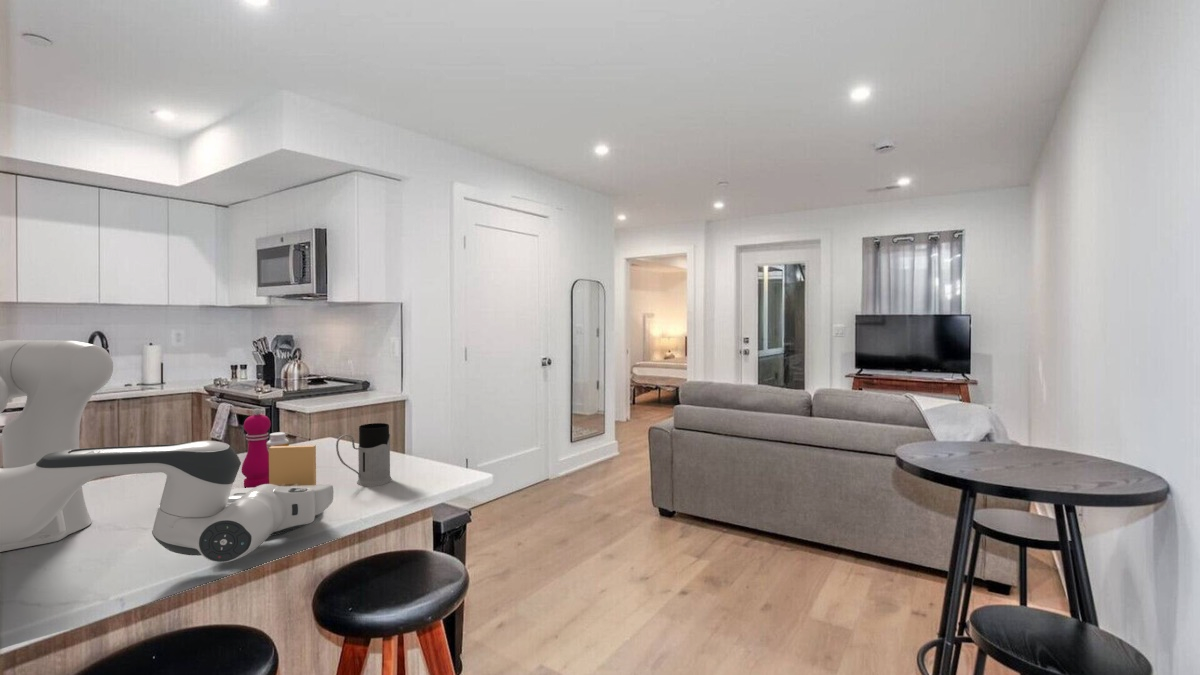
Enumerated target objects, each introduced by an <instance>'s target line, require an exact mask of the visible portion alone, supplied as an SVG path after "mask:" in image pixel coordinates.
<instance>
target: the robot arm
mask: <svg viewBox="0 0 1200 675" xmlns="http://www.w3.org/2000/svg"><path fill="white" fill-rule="evenodd" d="M113 371H114V362H113V359H112V356H111V354H110V353H109V352H108V351H107V350H106V348H104V347H102V346H99V345H97V344H92V343H89V342H83V341H78V340H57V339H56V340H50V339H48V340H45V339H39V340H38V339H36V340H35V339H34V340H33V339H30V340H29V339H25V340H23V339H6V340H0V414H1V413H3V412H4V411H5V409H6V407H7V406H8V401H9V400H12V399H15V398H21V397H26V400H25V403H24V407H23V409H22V411H21V413H20V414H19V415H18V416H16V417H14V418H12V419H11V420H9V421H8V422H6V424H5V425H4V427H3V428H2V431H1V438H2V439H1V440H2V442H1V443H2V446H1V447H2V466H1V467H0V553H2V552H6V551H11V550H17V549H18V550H19V549H23V548H28V547H29V548H30V547H32V546H39V545H44V544H49V543H55V542H58V541H61V540H62V539H65V538H66V537H67V536H69V535H71V534H73V533H77V532H79V531H81V530H82V529H84V528H87V527H88V526H90V525H91V524H92V522H93V520H92V518H91V516H90V514H89V511H88V508H87V504H86V501H85V496H84V492H83V486H85V484H87V483H88V482H90V481H92V480H95V479H98V478H101V477H106V476H107V477H109V476H121V475H137V474H139V475H141V474H156V473H157V474H158V473H163V474H165V475H166V479H165V484H164V487H163V492H162V494H161V498H160V502H159V505H158V508H157V510H156V514H155V519H154V522H153V526H152V527H153V528H152V530H151V533H152V534H151V535H152V537H153V538H154V540H156V542H158V544H159V545H160V546H162V547H163V548H164V549H167V550H168V551H170V552H172V553H176V554H179V555H183V556H184V555H185V556H202V557H204V559H206V560H208V561H211V562H215V563H228V562H232V561H235V560H238V559H241V558H243V557H245V556H247V555H248V554H250V553H252V552H253V551H255V550H256V549H257V548H258V547H260V546H261V545H262V544H263V543H265V541H266V540H267V539H268V538H269V537H270V536H269V535H270V534H272V533H273V532H276V531H280V530H282V529H285V528H289V527H293V526H298V525H304V524H306V525H308V524H312V523H313V522H314V521H315V519H314V518H315V515H318V514H319V515H320V514H322V513H324V512H325V511H326V510H327V509H328V508H329V507H330V505H332V503H333V500H334V486H333V485H332V484H329V483H328V484H326V483H325V484H316V485H302V486H298V484H283V485H281V486H277V485H273V484H263V485H259V486H257V487H253V488H245V487H234V488H233V484H234V482H235V481H236V478H237V475H238V473H239V469H240V467H241V466H242V465H241V464H242V462H241V459H240V457H239V455H238V453H236V451H235V450H234V448H233V447H232V446H231V445H230V444H229V443H226V442H223V441H216V440H199V441H188V442H180V443H171V444H170V443H168V444H151V445H150V444H147V445H145V444H144V445H125V446H124V445H120V446H118V445H117V446H99V447H97V446H96V447H85V448H84V447H83V448H80V432H81V431H80V429H81V428H80V427H81V420H82V416H83V413H84V410H85V408H86V406H87V404H88V403H89V401H90V399H91V398H92V396H93V395H94V394H95V393H97V392H98V391H99V390H101V389H102V388H103V387H104V386H106V385H107V383H108V382H110V379H111V378H112V375H113V373H114V372H113ZM304 526H305V525H304Z"/></svg>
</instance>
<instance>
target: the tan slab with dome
mask: <svg viewBox="0 0 1200 675" xmlns="http://www.w3.org/2000/svg"><path fill="white" fill-rule="evenodd" d="M316 449H317V448H316V445H315V444H312V445H311V444H307V445H289V446H271V447H270V448H269V484H273V485H277V486H281V485H283V484H298V486H302V485H317V460H316V459H317V456H316V454H317V452H316V451H317V450H316Z"/></svg>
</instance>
